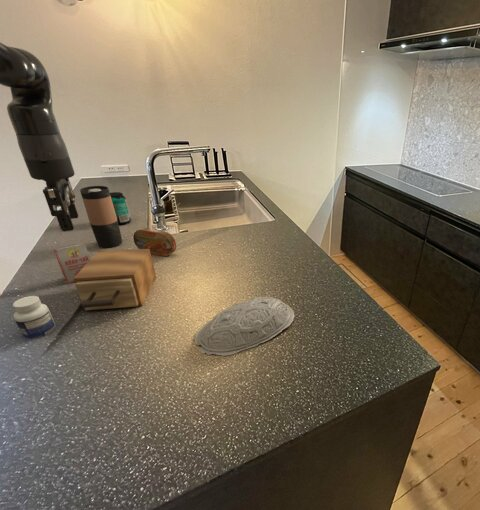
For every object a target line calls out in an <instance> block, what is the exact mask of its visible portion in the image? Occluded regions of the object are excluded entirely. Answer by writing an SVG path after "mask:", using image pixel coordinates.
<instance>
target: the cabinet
mask: <svg viewBox="0 0 480 510" xmlns="http://www.w3.org/2000/svg"><path fill="white" fill-rule="evenodd" d="M90 259H91V260H90V261H89V262H88V263H87V264H86V265H85V266H84V267H83V268H82V269H81V271H80V272H79V273H78V274H77V275H76V276H75V277H74V278H73V279H74V281H75V282H74V285H75V284H76V283H77V282H78V281H84V280H99V279H115V278H130V277H131V278H132V281H133V285H134V288H135V292H136V296H137V299H138V303H139V304H138V306H137V307H142V306H143V305H144V303H145V301H146V299H147V297H148V295H149V292H150V291H151V288H152V286H153V284H154V282H155V280H156V278H157V275H156V271H155V270H156V269H155V267H154V261H153V258H152V254H151V253H150V249H138V248H135V249H116V250H115V249H113V250H111V249H110V250H98V251H97V252H96V253H95V254H94V255H93V257H91V258H90ZM131 307H132V308H133V307H134V308H135V306H131ZM131 307H130V308H131ZM119 308H120V309H122V308H123V307H119ZM119 308H118V309H119ZM111 309H112V308H108V309H107V310H111ZM98 310H99V311H100V309H96V310H95V311H98ZM84 311H87V312H88V311H89V310H85V309H84Z"/></svg>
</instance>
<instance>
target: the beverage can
mask: <svg viewBox="0 0 480 510" xmlns="http://www.w3.org/2000/svg"><path fill="white" fill-rule="evenodd" d="M110 196H111V199H112V203H113V206H114V210H115V213H116V217H117V220H118V225H119V226H125V225H127V224H129V223H130V222H131V221H132V218H131V214H130V209H129V206H128V201H127V199H126V197H125V196H124V194H123V192H121V191H120V192H118V191H112V192H110Z"/></svg>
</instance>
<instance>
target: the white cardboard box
mask: <svg viewBox="0 0 480 510" xmlns="http://www.w3.org/2000/svg"><path fill="white" fill-rule="evenodd" d="M53 252H54V255H55V258H56V260H57V263H58V265H59V268H60V270H61V272H62V275H63V277H64V278H63V279H64V280H65V284H67V285H68V284H72V283H75V281H74V279H73V278H74V277H75V276H76V275H77V274H78V273H79V272H80V271H81V269H82V268H83V267H84V266H85V265H86V264H87V263H88V262H89V261H90V260H91V259H92V258H91V256H90V253H89V251H88V248H87V245H86V243H81V244H75V245H70V246H66V247H60V248H54V249H53Z"/></svg>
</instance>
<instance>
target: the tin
mask: <svg viewBox="0 0 480 510" xmlns="http://www.w3.org/2000/svg"><path fill="white" fill-rule="evenodd" d="M132 239H133V243H134V245H135V246H136V249H150V253H151V255H154V256H155V255H156V256H161V257H169V256H170V255H171V254H173V253H174V252H175V251H176V249H177V242H176V240H175V238H174V236H173V235H172V234H171V233H169V232H167V231H164V230H159V229H153V228H147V227H146V228H141V229H137V230H135V231H134V232H133V238H132Z"/></svg>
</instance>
